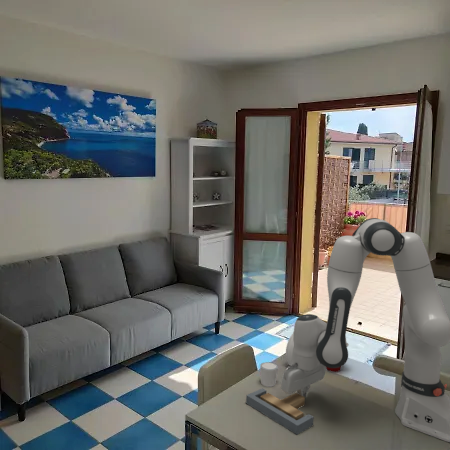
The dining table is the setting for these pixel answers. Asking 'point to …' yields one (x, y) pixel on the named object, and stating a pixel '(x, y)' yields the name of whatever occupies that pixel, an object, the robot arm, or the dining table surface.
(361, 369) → the dining table surface
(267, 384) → the white cylinder
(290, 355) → the sauce bottle
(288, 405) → the t block
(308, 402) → the dining table surface
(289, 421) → the dock
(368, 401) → the dining table surface
